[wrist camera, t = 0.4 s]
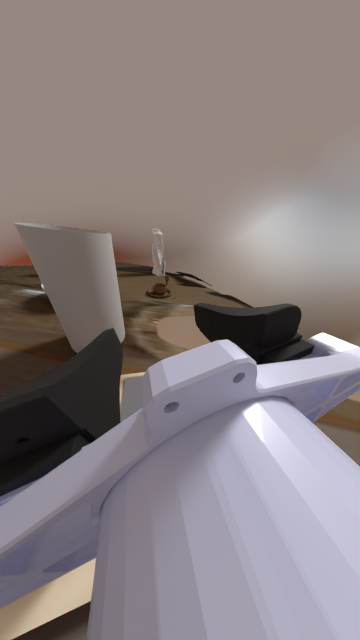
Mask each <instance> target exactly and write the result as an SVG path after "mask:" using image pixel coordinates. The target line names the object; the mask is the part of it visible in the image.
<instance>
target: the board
mask: <svg viewBox="0 0 360 640" xmlns="http://www.w3.org/2000/svg"><path fill="white" fill-rule="evenodd" d="M144 374H145V372H143V373H135V374H126V375H121V377H120V417H121V409H122V401H123V393H124V385H125V378H128V377H136V376H143V375H144ZM95 563H96V558H95V559H93V560H91V561H89V562H87V563H85V564H84V565H82V566H80V567H78V568H76V569H74V570H72V571H70V572H68V573H67V574H65V575H63V576H61V577H59V578H57V579H55V580H53V581H51V582H50V583H48V584H46V585H44V586H42V587H40V588H38V589H36V590H34V591H33V592H31V593H29V594H27V595H25V596H23V597H21V598H20V599H18V600H16V601H14V602H12V603H10V604H9V605H7V606H5V607H3V608H1V609H0V640H12V639H14V638H16V637H18V636H20V635H22V634H24V633H26V632H28V631H30V630H32V629H34V628H36V627H38V626H40V625H42V624H44V623H46V622H48V621H51V620H53V619H55V618H57V617H59V616H61V615H63V614H65V613H67V612H69V611H71V610H73V609H75V608H77V607H79V606H81V605H83V604H85V603H87V602H89V601H91V596H92V588H93V580H94V571H95Z"/></svg>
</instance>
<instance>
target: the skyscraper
mask: <svg viewBox="0 0 360 640" xmlns="http://www.w3.org/2000/svg"><path fill="white" fill-rule="evenodd" d="M153 229H154V228H153ZM153 229H152V231H153ZM155 230H158V229H155ZM158 231H159V230H158ZM160 233H161V232H160V231H159V232H155V233H154V232H153V234H154V238H153V244H152V257H153V263H154V268H153V272H152V274H154V275H157V276H162V275H165V259H164V263H163V274H162V271H161V262H162V258H163V239H162V235H163V234H162V233H161V234H160Z"/></svg>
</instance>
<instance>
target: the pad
mask: <svg viewBox="0 0 360 640" xmlns="http://www.w3.org/2000/svg"><path fill="white" fill-rule="evenodd" d="M142 377H143V376H136V377H128V378H125V385H124V393H123V401H122V409H121V417H120V421H121V422H122V421H124V420H125V419H127V418H128V417H129V416H131V415H132V414H134V413H135V412H137V411H138V410H139V409H141V408H142V407H143V404H142V390H141V378H142Z"/></svg>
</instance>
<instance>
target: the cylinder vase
mask: <svg viewBox="0 0 360 640" xmlns="http://www.w3.org/2000/svg"><path fill="white" fill-rule="evenodd" d="M14 224H15V226H16V228H17V231H18V233H19V235H20V237H21V239H22V241H23V244H24V246H25V248H26V250H27V252H28V254H29V256H30V259H31V261H32V263H33V265H34V267H35V269H36V272H37V274H38V276H39V278H40V280H41V282H42V285H43V287H44V289H45V291H46V293H47V295H48V297H49V300H50V302H51V304H52V306H53V308H54V310H55V313H56V315H57V317H58V319H59V321H60V323H61V326H62V328H63V330H64V332H65V334H66V336H67V338H68V341H69V343H70V345H71V347H72V349H73V350H74V351H75V352H77V353H78V352H80V351H81V350H82V349H83V348H85V347H86V346H87V345H88V344H89V343H91V342H92V341H93V340H94V339H95V338H96V337H97V336H98V335H100V334H101V333H102V332H103V331H105V330H107V329H111V328H114V330H115V332H116V334H117V336H118V339H119V341H120V343H122V341H123V340H124V338H125V329H124V323H123V316H122V309H121V302H120V295H119V288H118V281H117V274H116V267H115V260H114V253H113V246H112V239H111V233H107V232H101V231H95V230H88V229H79V228H71V227H61V226H53V225H42V224H30V223H14Z"/></svg>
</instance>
